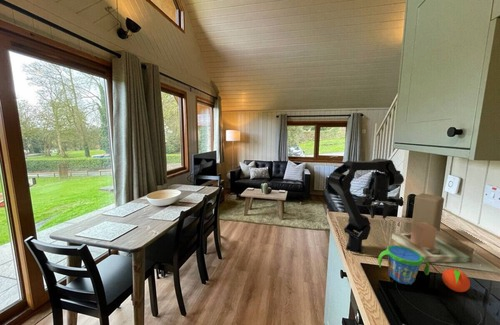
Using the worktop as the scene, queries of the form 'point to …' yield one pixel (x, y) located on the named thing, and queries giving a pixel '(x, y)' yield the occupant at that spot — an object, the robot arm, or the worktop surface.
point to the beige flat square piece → (438, 248)
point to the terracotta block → (423, 234)
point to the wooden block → (428, 210)
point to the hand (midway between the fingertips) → (378, 218)
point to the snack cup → (403, 263)
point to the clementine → (456, 280)
